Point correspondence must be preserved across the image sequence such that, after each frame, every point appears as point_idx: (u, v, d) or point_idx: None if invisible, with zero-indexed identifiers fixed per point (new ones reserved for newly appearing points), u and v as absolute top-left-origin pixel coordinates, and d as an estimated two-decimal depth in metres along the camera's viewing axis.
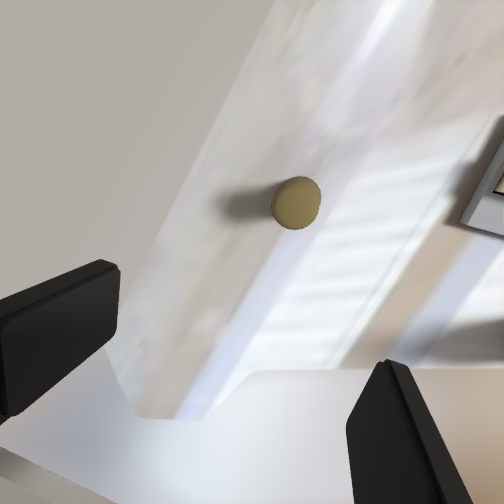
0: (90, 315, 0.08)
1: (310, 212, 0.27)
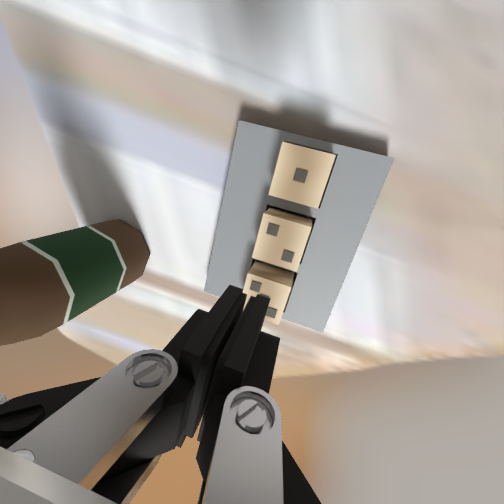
0: None
1: None
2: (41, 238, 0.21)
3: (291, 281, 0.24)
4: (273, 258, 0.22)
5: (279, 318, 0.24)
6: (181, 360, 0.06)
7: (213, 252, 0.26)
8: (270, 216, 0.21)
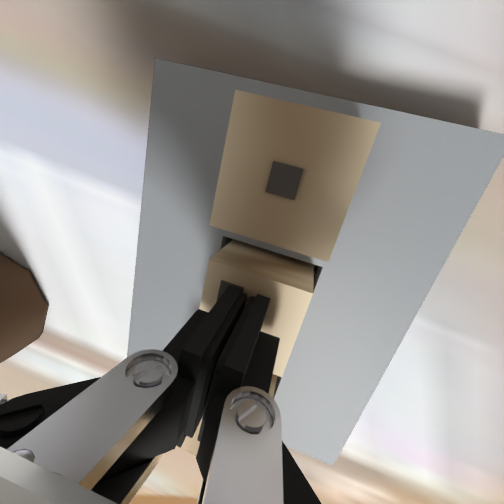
0: None
1: None
2: None
3: (271, 393, 0.12)
4: None
5: None
6: (181, 360, 0.06)
7: (133, 317, 0.14)
8: (223, 266, 0.10)
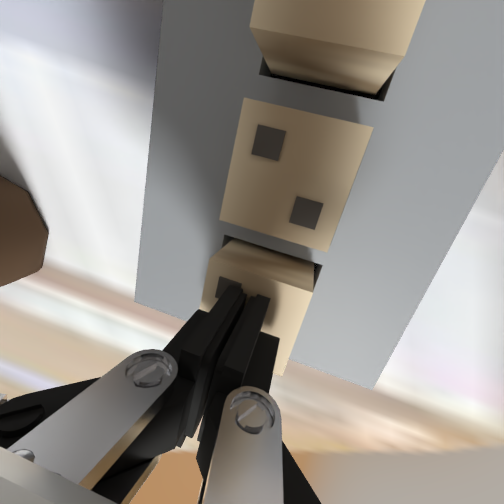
0: None
1: None
2: None
3: (310, 278, 0.10)
4: (269, 218, 0.09)
5: (283, 362, 0.10)
6: (181, 360, 0.06)
7: (145, 223, 0.13)
8: (262, 105, 0.08)
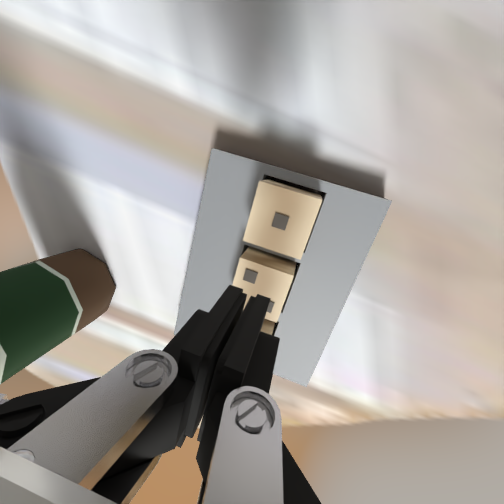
0: None
1: None
2: None
3: (271, 329, 0.21)
4: None
5: None
6: (181, 360, 0.06)
7: (184, 293, 0.23)
8: (247, 261, 0.18)
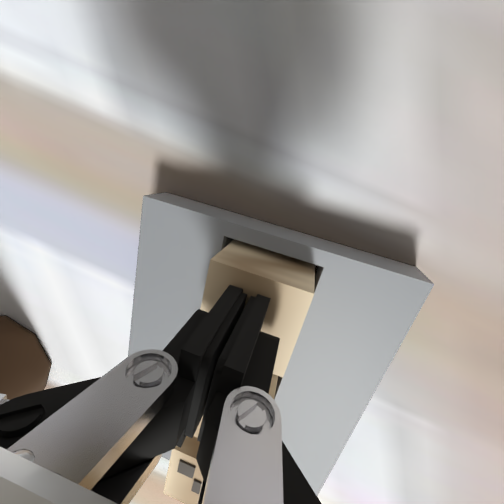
0: None
1: None
2: None
3: None
4: None
5: None
6: (181, 360, 0.06)
7: None
8: None
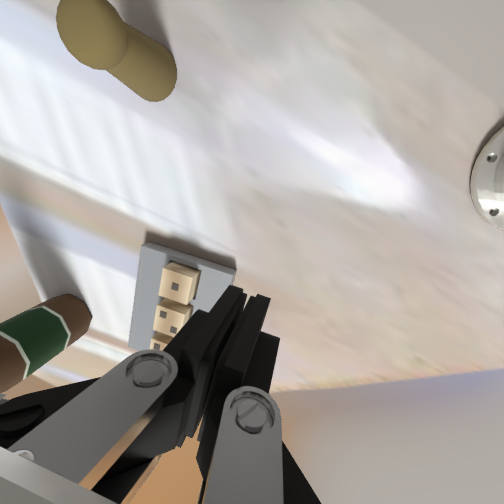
0: None
1: (77, 47, 0.21)
2: (8, 324, 0.33)
3: None
4: (165, 330, 0.35)
5: None
6: (181, 360, 0.06)
7: (132, 322, 0.39)
8: (161, 307, 0.34)
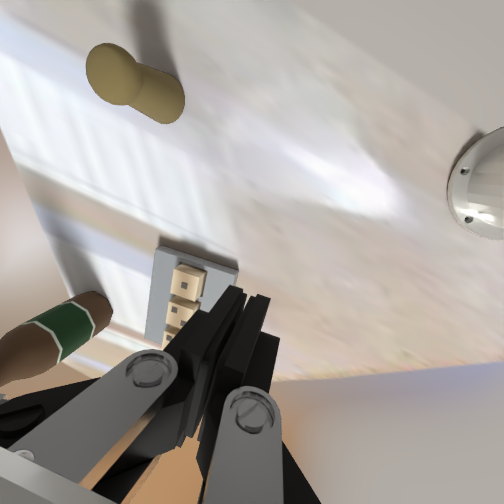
0: None
1: (102, 90, 0.25)
2: (44, 317, 0.39)
3: None
4: (176, 324, 0.40)
5: None
6: (181, 360, 0.06)
7: (147, 316, 0.44)
8: (172, 303, 0.39)
